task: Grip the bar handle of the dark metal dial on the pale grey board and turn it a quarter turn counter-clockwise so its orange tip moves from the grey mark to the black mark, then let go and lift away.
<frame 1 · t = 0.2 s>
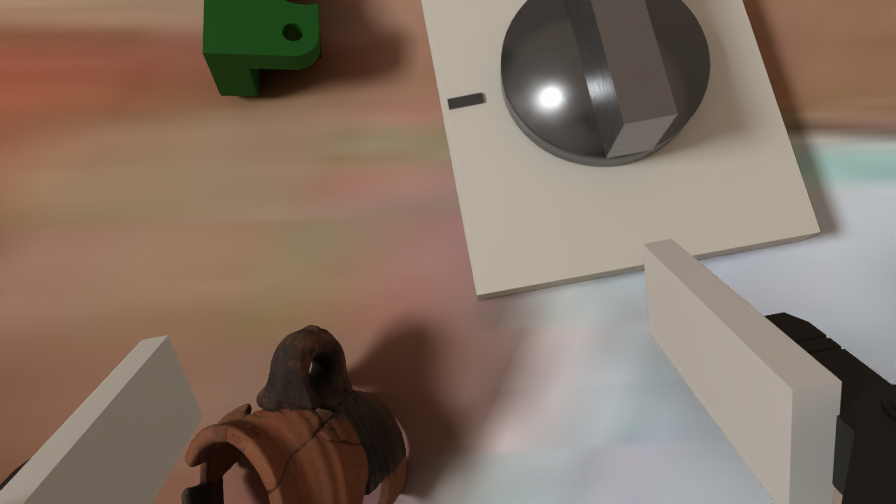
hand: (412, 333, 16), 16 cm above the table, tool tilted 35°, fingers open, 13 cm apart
dial: (609, 44, 29), point 5 cm above the table, hinge at 0.0°
dial board: (591, 93, 34), on the table
clamp: (284, 25, 37), on the table
pottery mug: (320, 443, 31), on the table
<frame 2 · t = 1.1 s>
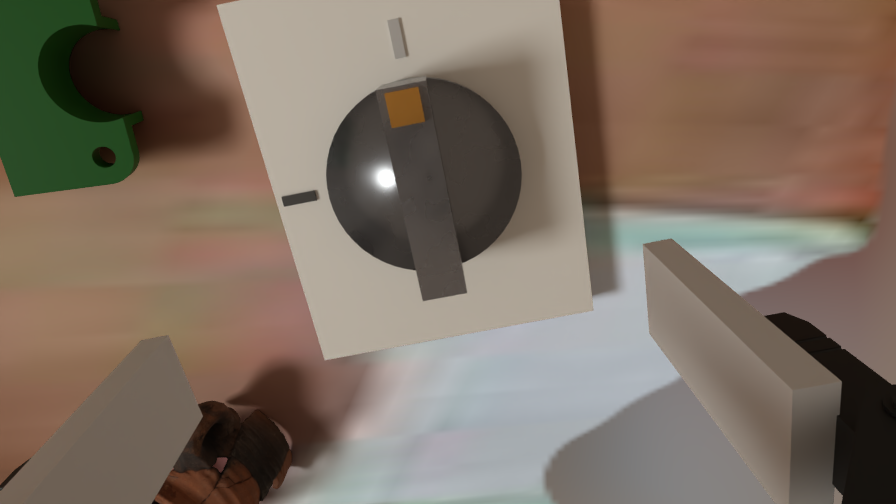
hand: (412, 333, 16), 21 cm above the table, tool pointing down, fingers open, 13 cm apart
dial: (424, 186, 31), point 5 cm above the table, hinge at 0.0°
dial board: (424, 166, 35), on the table
clamp: (90, 75, 33), on the table
pottery mug: (225, 438, 42), on the table
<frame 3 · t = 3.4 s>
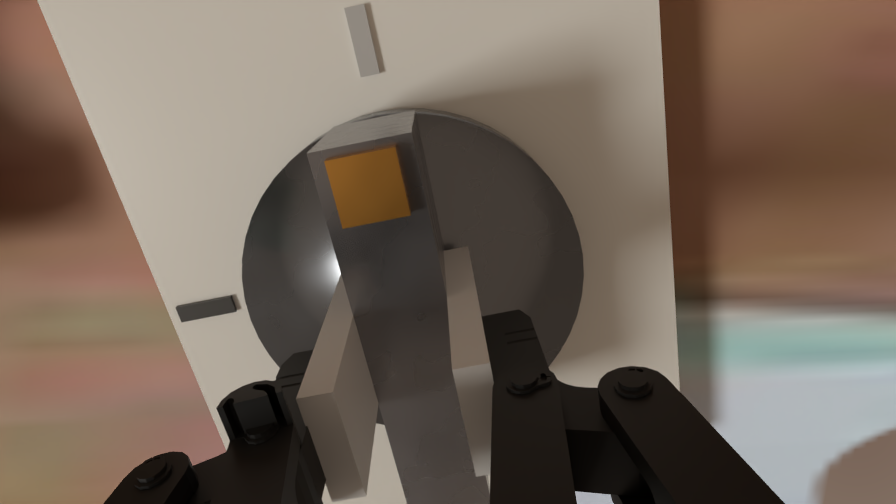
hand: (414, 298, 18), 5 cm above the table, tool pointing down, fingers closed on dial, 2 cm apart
dial: (413, 307, 17), point 5 cm above the table, hinge at 0.0°, touching gripper
dial board: (416, 247, 22), on the table
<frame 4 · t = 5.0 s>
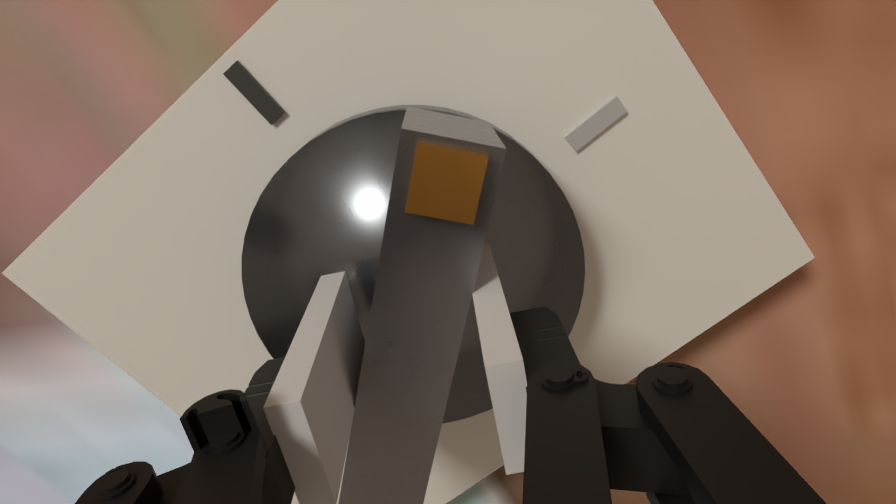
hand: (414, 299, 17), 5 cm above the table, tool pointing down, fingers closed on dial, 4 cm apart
dial: (414, 304, 17), point 5 cm above the table, hinge at 39.1°, touching gripper
dial board: (417, 245, 22), on the table
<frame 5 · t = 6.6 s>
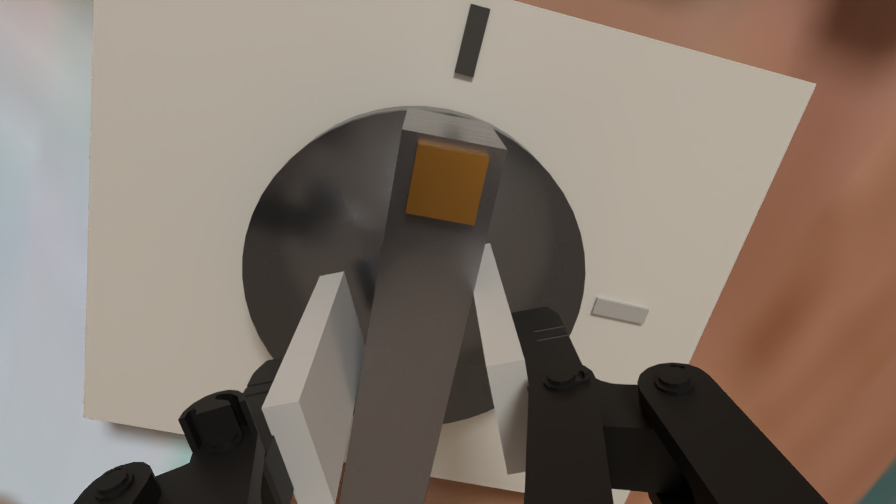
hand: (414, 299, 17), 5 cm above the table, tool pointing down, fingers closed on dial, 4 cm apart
dial: (414, 305, 17), point 5 cm above the table, hinge at 92.6°, touching gripper
dial board: (417, 245, 22), on the table
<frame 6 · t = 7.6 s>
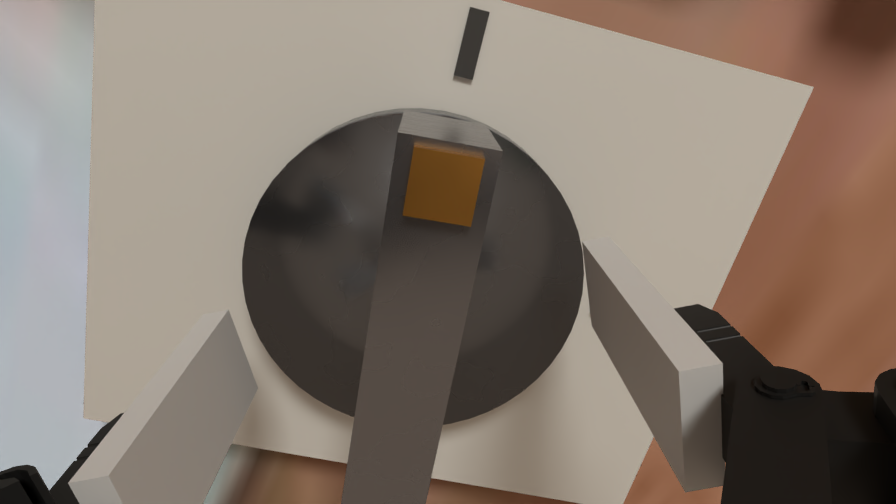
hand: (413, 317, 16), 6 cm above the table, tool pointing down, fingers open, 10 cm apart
dial: (413, 307, 17), point 5 cm above the table, hinge at 93.5°
dial board: (416, 247, 22), on the table
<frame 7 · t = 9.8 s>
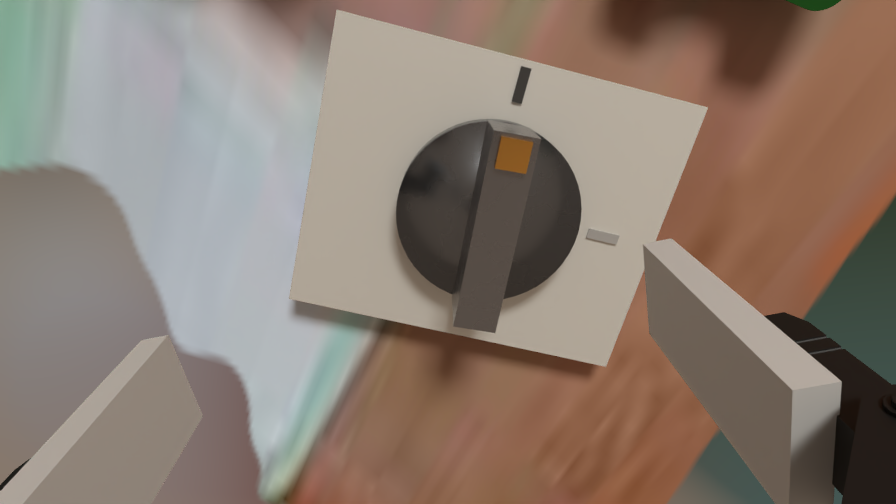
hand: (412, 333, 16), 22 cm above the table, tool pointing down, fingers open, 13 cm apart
dial: (490, 223, 32), point 5 cm above the table, hinge at 93.5°
dial board: (484, 200, 37), on the table
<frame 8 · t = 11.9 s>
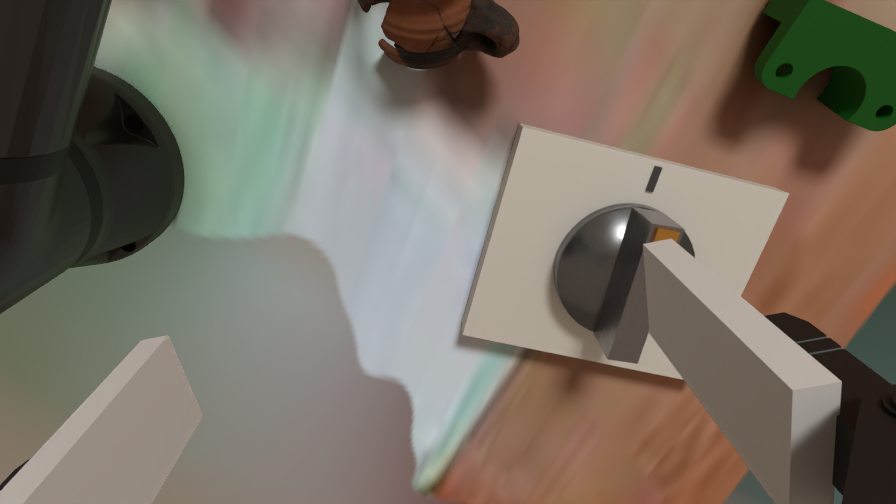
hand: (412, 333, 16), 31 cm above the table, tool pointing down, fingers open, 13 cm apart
dial: (632, 282, 44), point 5 cm above the table, hinge at 93.5°
dial board: (612, 258, 48), on the table
clamp: (807, 57, 43), on the table
pottery mug: (437, 3, 41), on the table
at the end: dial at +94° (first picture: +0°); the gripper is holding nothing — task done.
